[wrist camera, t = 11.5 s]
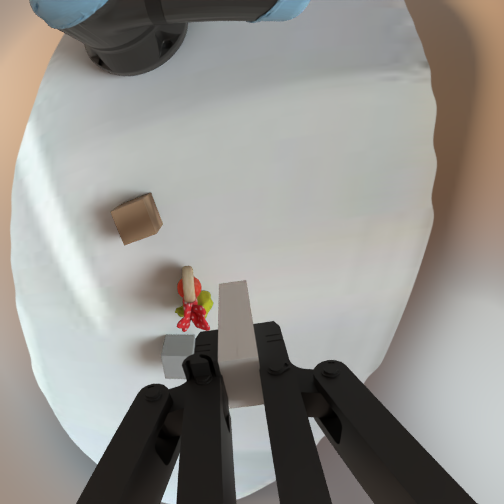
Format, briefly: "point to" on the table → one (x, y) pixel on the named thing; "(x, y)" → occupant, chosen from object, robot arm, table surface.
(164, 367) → the grey block
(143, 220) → the walnut block
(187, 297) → the bird rattle
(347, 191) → the table surface
